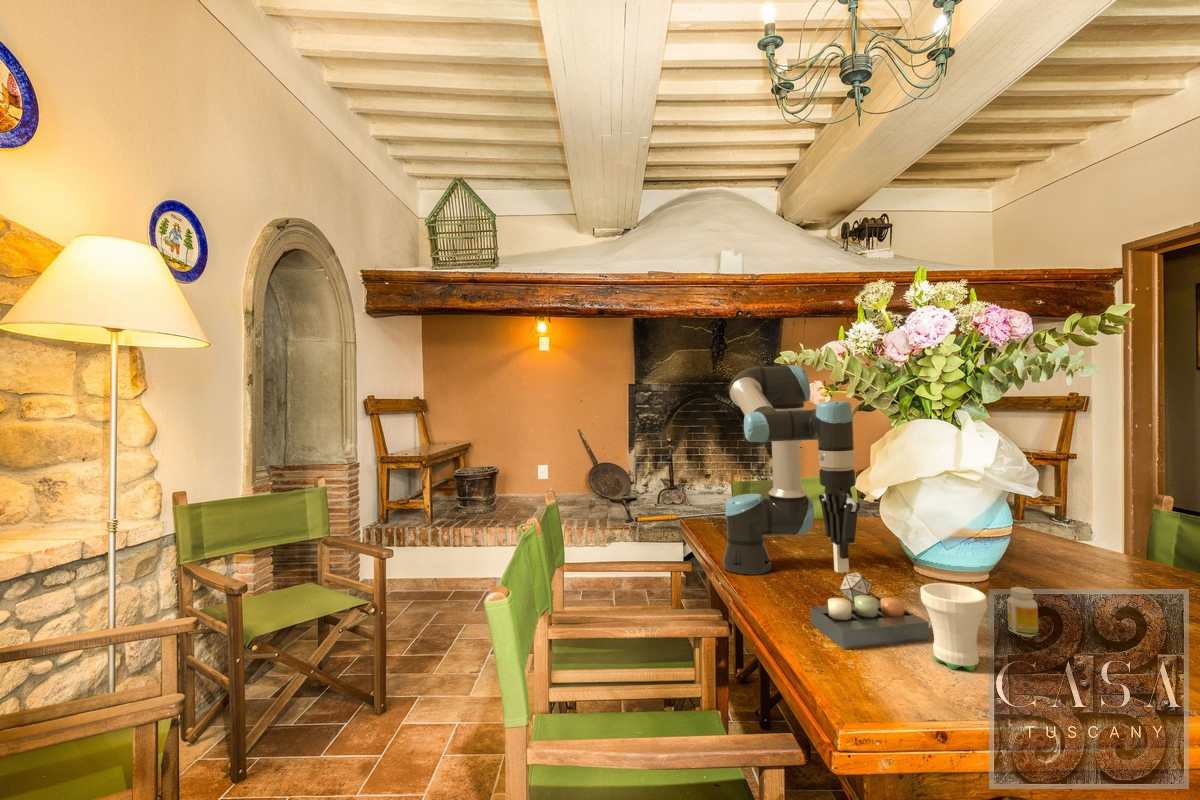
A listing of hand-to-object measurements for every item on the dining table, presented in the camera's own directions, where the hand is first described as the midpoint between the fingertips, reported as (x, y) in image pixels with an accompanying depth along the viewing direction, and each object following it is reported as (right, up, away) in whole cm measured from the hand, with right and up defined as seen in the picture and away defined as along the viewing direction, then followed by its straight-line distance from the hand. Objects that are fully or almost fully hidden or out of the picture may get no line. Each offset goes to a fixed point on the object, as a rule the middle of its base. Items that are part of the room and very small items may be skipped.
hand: (841, 571), depth 124 cm
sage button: (+6, -10, +1) cm, 11 cm away
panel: (+6, -14, +1) cm, 15 cm away
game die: (+12, -14, +18) cm, 26 cm away
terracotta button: (+12, -11, +1) cm, 16 cm away
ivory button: (0, -10, 0) cm, 10 cm away
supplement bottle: (+39, -13, -4) cm, 41 cm away
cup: (+16, -14, -15) cm, 26 cm away
